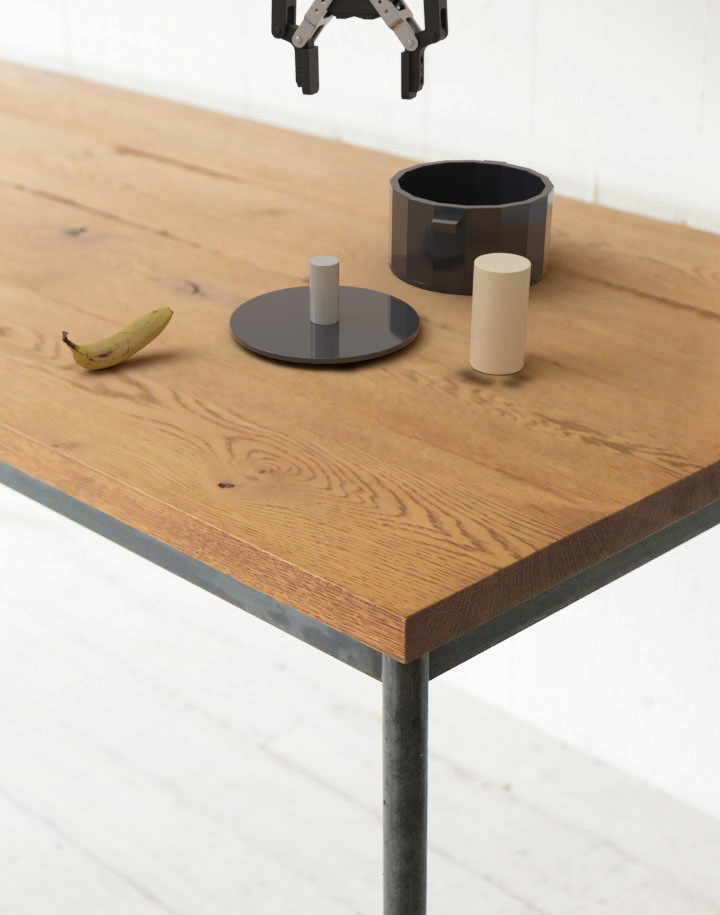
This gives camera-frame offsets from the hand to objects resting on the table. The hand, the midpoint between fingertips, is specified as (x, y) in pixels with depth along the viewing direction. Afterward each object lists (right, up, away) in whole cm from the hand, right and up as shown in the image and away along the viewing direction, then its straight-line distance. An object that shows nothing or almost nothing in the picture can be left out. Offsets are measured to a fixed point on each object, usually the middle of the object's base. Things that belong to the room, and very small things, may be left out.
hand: (359, 95), depth 110 cm
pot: (+11, -11, +24) cm, 28 cm away
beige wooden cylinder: (+12, -22, +3) cm, 25 cm away
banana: (-20, -22, +3) cm, 30 cm away
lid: (-3, -18, +9) cm, 20 cm away
